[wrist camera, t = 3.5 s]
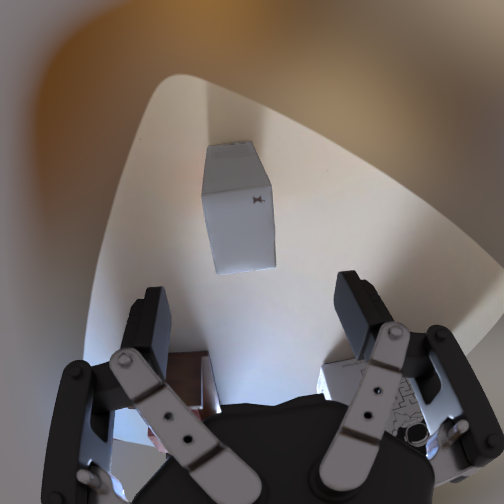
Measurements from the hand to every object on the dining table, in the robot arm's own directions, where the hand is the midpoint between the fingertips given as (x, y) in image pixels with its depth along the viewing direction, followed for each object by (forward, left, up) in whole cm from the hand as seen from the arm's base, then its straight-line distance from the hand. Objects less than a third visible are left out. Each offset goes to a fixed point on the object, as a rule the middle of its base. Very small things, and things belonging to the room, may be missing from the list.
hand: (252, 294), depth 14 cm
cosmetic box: (0, 0, -18) cm, 18 cm away
